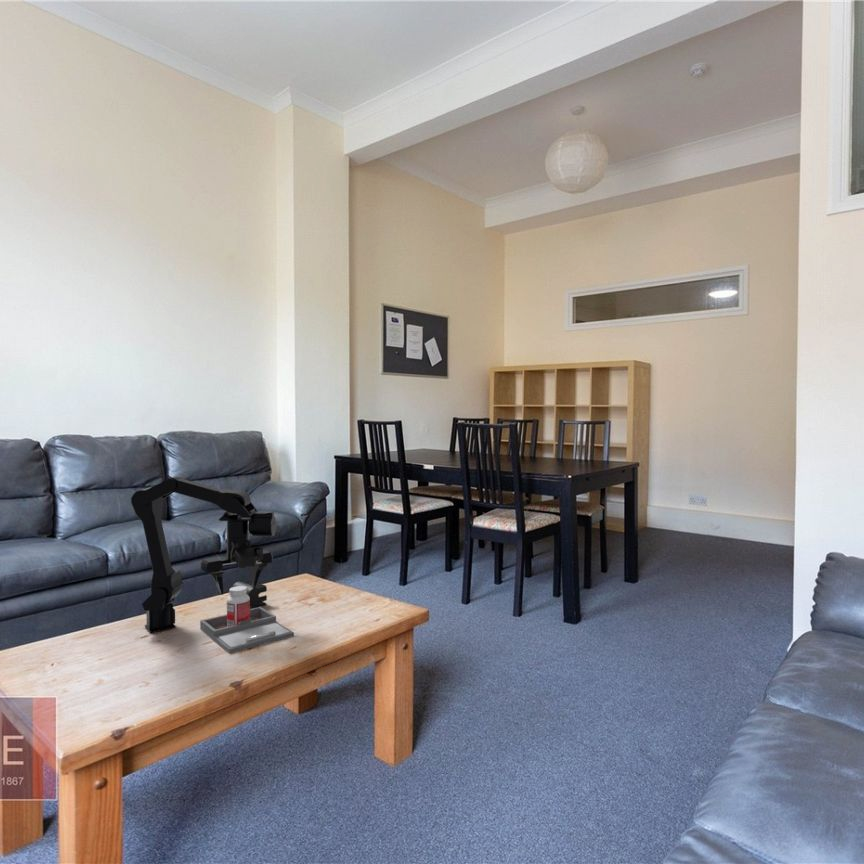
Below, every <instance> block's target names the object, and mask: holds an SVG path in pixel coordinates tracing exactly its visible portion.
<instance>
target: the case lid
mask: <svg viewBox="0 0 864 864" xmlns="http://www.w3.org/2000/svg"><path fill="white" fill-rule="evenodd" d="M272 631H275V632H276V634H275V635H272V636H269V637H265V638H261V639H257V640H253V641H250V642H245V638H249V637H253V636H257V635H261V634H265V633H268V632H272ZM291 637H295V635H294V631H292V630H291V629H289V628H287V627H286V626H285V625H282V624H281V623H280V622H278V621H277V620H276V621H274V622H270V623H266V624H262V625H258V626H254V627H250V628H246V629H242V630H238V631H234V632H230V633H226V634H222V635H218V636H214V640H213V642H215V643H216V644H217V645H218V646H220V647H221V648H222V649H224V650H225V651H226V652H227V653H228V654H232V653H236V652H240V651H244V650H247V649H251V648H255V647H259V646H262V645H266V644H269V643H273V642H277V641H279V640H280V641H281V640H284V639H288V638H291Z"/></svg>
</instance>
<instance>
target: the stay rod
mask: <svg viewBox="0 0 864 864" xmlns="http://www.w3.org/2000/svg"><path fill="white" fill-rule="evenodd" d="M275 634H276V632H275V631H272V632H268V633H265V634H261V635H257V636H253V637H249V638H245V642H250V641H253V640H257V639H261V638H265V637H269V636H272V635H275Z"/></svg>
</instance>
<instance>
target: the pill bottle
mask: <svg viewBox="0 0 864 864" xmlns="http://www.w3.org/2000/svg"><path fill="white" fill-rule="evenodd" d="M231 587H232V586H231ZM231 587H230V588H229V591H228V593H229V596H227V598H226V615H227V624H226V627H229V626H233V625H237V624H241V621H242V620H246V619H250V620H251V618H250V609H251V607H250V597H249V596H248V595H247V594H246V593H247V587H245V586H237V587H232V588H231Z"/></svg>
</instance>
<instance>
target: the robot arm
mask: <svg viewBox="0 0 864 864" xmlns="http://www.w3.org/2000/svg"><path fill="white" fill-rule="evenodd" d="M174 493H175V494H179V495H183V496H186V497H190V498H194V499H197V500H200V501H204V502H208V503H211V504H213V505H215V506H217V508H219V509H221V510H222V511H225V512H224V513H223V515H222V516H221V517H220V518H219V519H218V521H219V522H226V538H225V544H226V553H225V558H226V559H219V558H218V557H210V558H203V559H202V560H201V562H200V569H201V570H202V571H204V572H205V573H206V574H209V575H211V577H212V579H213V581H214V583H215V585H216V588H217V590H218V592H219V594H220V596H223V595H224V581H223V575H224V571H223V570H222V569H223V567H229V566H235V565H237V568H239V569H245V568H248V567H250V569H251V570H250V571H251V578H250V579H251V581H252V588H255V587H256V585H258V584H257V583H258V581H259V578H260V575H261V573H262V572H263V570H264V568H265V567H267V566H269V564H270V563H271V564H272V563H273V561H274V556H273V555H274V554H273V553H272V552H271V551H268V550H266V549H264V548H263V547H262V546H258V547H252V545H251V540H250V539H249V534H250V535H252V536H253V537H275V535H276V533H277V532H276V531H277V524H278V523H277V521H276V517H275V512H274V511H268V512H267V511H266V512H259V511H258V509H257V508H256V506H255V505H254V503H252V501H251V496H250V495H249V493H248V492H246V491H244V490H239V489H222V488H217V487H214V486H210V485H207V484H202V483H200V482H196V481H191V480H189V479H184V478H182V477H180V476H172V477H167V478H166V479H165V480H163V481H161V482H159V483H158V484H155V485H153V486H152V487H147V488H143V489H139V490H137V491H135V492H134V493H133V494H132V495H131V497H130V503H131V506H132V509H133V511H134V514H135V516H137V517H138V519H139V520H140V521H141V523H142V526H143V531H144V536H145V541H146V545H147V546H146V547H147V549H148V555H149V560H150V564H151V568H152V575H151V576H152V577H151V582H150V595H149V596H148V597H147V598H146V599H145V600H144V601H143V602H142V603H141V606H142V609H143V611H144V612H146V624H145V625H144V628H145V629H146V630H147V631H148V632H149V633H150V634H151V633H157V632H161V631H166V630H170V629H173V628H174V629H175V628H176V625H175V624H176V609H175V608H174V604H173V602H175V600H176V598H177V596H179V594H180V592H182V588H183V585H184V581H183V579H182V573H181V570H177V571H175V570H174V568H173V567H172V564H171V559H170V556H169V554H170V553H169V549H168V546H167V541H166V536H165V532H164V527H163V522H162V513H163V509H164V501H163V500H164V499H166V498H167V497H169V496H171V495H172V494H174Z"/></svg>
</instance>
